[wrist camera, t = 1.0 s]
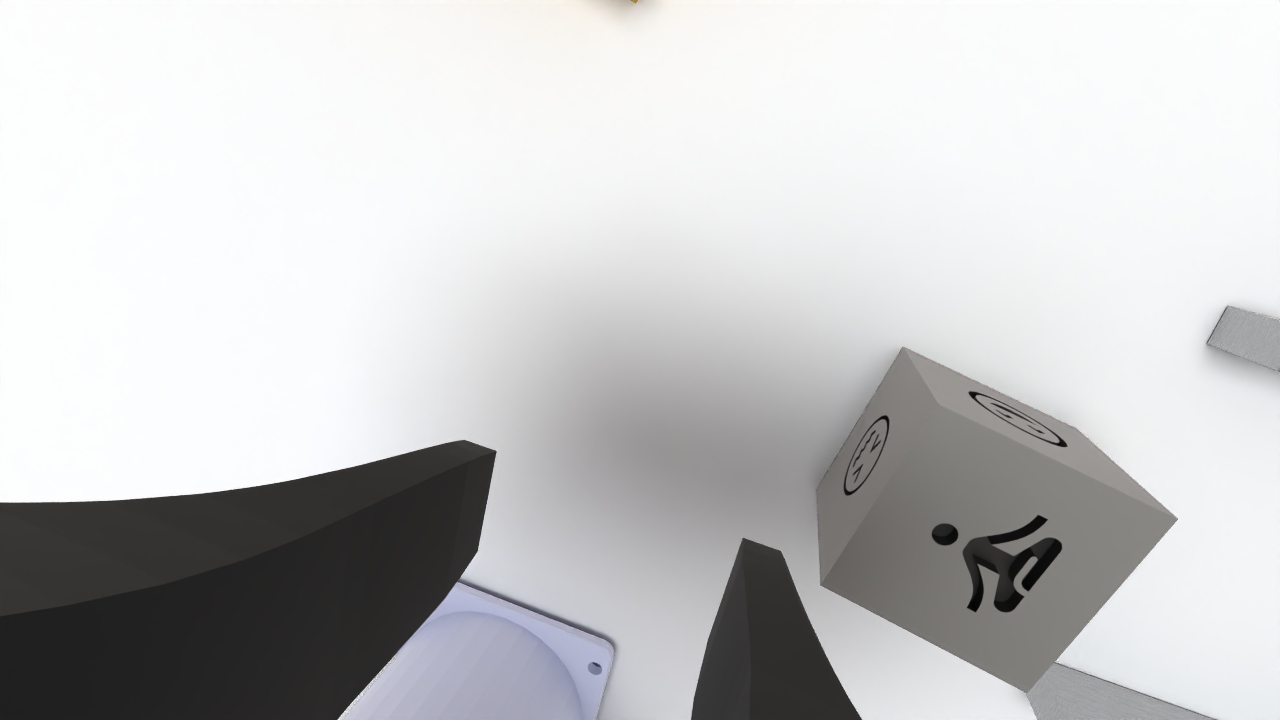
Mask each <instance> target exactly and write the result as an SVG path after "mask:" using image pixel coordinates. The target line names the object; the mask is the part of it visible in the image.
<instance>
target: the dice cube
mask: <svg viewBox="0 0 1280 720" xmlns="http://www.w3.org/2000/svg"><path fill="white" fill-rule="evenodd" d="M816 494H817V516H818V539H819V562H820V584H821V586H823V587H825V588H827V589H829V590H831V591H833V592H835V593H836V594H838V595H840V596H842V597H844V598H846V599H848V600H850V601H852V602H854V603H856V604H858V605H859V606H861V607H863V608H865V609H867V610H869V611H871V612H873V613H875V614H877V615H879V616H880V617H882V618H884V619H886V620H888V621H890V622H892V623H894V624H896V625H898V626H900V627H902V628H903V629H905V630H907V631H909V632H911V633H913V634H915V635H917V636H919V637H921V638H923V639H925V640H926V641H928V642H930V643H932V644H934V645H936V646H938V647H940V648H942V649H944V650H946V651H947V652H949V653H951V654H953V655H955V656H957V657H959V658H961V659H963V660H965V661H967V662H969V663H970V664H972V665H974V666H976V667H978V668H980V669H982V670H984V671H986V672H988V673H990V674H991V675H993V676H995V677H997V678H999V679H1001V680H1003V681H1005V682H1007V683H1009V684H1011V685H1013V686H1014V687H1016V688H1018V689H1020V690H1022V691H1024V692H1026V693H1028V692H1029V691H1030V690H1031V688H1032V687H1033V686H1034V685H1035V684H1036V683H1037V682H1038V680H1039V679H1040V678H1041V677H1042V676H1043V675H1044V673H1045V672H1046V671H1047V670H1048V669H1049V668H1050V667H1051V665H1052V664H1053V663H1054V662H1055V661H1056V660H1057V658H1058V657H1059V656H1060V655H1061V654H1062V653H1063V652H1064V650H1065V649H1066V648H1067V647H1068V646H1069V645H1070V643H1071V642H1072V641H1073V640H1074V639H1075V638H1076V636H1077V635H1078V634H1079V633H1080V632H1081V631H1082V630H1083V628H1084V627H1085V626H1086V625H1087V624H1088V623H1089V621H1090V620H1091V619H1092V618H1093V617H1094V616H1095V615H1096V613H1097V612H1098V611H1099V610H1100V609H1101V608H1102V606H1103V605H1104V604H1105V603H1106V602H1107V601H1108V600H1109V598H1110V597H1111V596H1112V595H1113V594H1114V593H1115V591H1116V590H1117V589H1118V588H1119V587H1120V586H1121V585H1122V583H1123V582H1124V581H1125V580H1126V579H1127V578H1128V576H1129V575H1130V574H1131V573H1132V572H1133V571H1134V570H1135V568H1136V567H1137V566H1138V565H1139V564H1140V563H1141V561H1142V560H1143V559H1144V558H1145V557H1146V556H1147V555H1148V553H1149V552H1150V551H1151V550H1152V549H1153V548H1154V546H1155V545H1156V544H1157V543H1158V542H1159V541H1160V539H1161V538H1162V537H1163V536H1164V535H1165V534H1166V533H1167V531H1168V530H1169V529H1170V528H1171V527H1172V526H1173V524H1174V523H1175V522H1176V521H1177V520H1178V518H1176V517H1175V516H1174V515H1173V514H1172V513H1171V512H1170V511H1169V510H1167V509H1166V508H1165V507H1164V506H1163V505H1162V504H1161V503H1160V502H1158V501H1157V500H1156V499H1155V498H1154V497H1153V496H1152V495H1151V494H1149V493H1148V492H1147V491H1146V490H1145V489H1144V488H1143V487H1142V486H1140V485H1139V484H1138V483H1137V482H1136V481H1135V480H1134V479H1133V478H1131V477H1130V476H1129V475H1128V474H1127V473H1126V472H1125V471H1124V470H1122V469H1121V468H1120V467H1119V466H1118V465H1117V464H1116V463H1115V462H1113V461H1112V460H1111V459H1110V458H1109V457H1108V456H1107V455H1106V454H1104V453H1103V452H1102V451H1101V450H1100V449H1099V448H1098V447H1097V446H1095V445H1094V444H1093V443H1092V442H1091V441H1090V440H1089V439H1088V438H1086V437H1085V436H1084V435H1083V434H1082V433H1081V432H1080V431H1079V430H1077V429H1076V428H1074V427H1072V426H1070V425H1068V424H1065V423H1063V422H1061V421H1059V420H1057V419H1055V418H1053V417H1051V416H1049V415H1046V414H1044V413H1042V412H1040V411H1038V410H1036V409H1034V408H1032V407H1029V406H1027V405H1025V404H1023V403H1021V402H1019V401H1017V400H1015V399H1013V398H1010V397H1008V396H1006V395H1004V394H1002V393H1000V392H998V391H996V390H993V389H991V388H989V387H987V386H985V385H983V384H981V383H979V382H977V381H974V380H972V379H970V378H968V377H966V376H964V375H962V374H960V373H957V372H955V371H953V370H951V369H949V368H947V367H945V366H943V365H941V364H938V363H936V362H934V361H932V360H930V359H928V358H926V357H924V356H921V355H919V354H917V353H915V352H913V351H911V350H909V349H907V348H905V347H902V349H901V351H900V352H899V354H898V356H897V357H896V359H895V361H894V362H893V364H892V366H891V367H890V369H889V371H888V372H887V374H886V376H885V377H884V379H883V380H882V382H881V384H880V385H879V387H878V389H877V390H876V392H875V394H874V395H873V397H872V399H871V400H870V402H869V404H868V405H867V407H866V408H865V410H864V412H863V413H862V415H861V417H860V418H859V420H858V422H857V423H856V425H855V427H854V428H853V430H852V432H851V433H850V435H849V436H848V438H847V440H846V441H845V443H844V445H843V446H842V448H841V450H840V451H839V453H838V455H837V456H836V458H835V460H834V461H833V463H832V464H831V466H830V468H829V469H828V471H827V473H826V474H825V476H824V478H823V479H822V481H821V483H820V484H819V486H818V488H817V489H816Z"/></svg>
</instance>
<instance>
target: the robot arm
mask: <svg viewBox="0 0 1280 720" xmlns="http://www.w3.org/2000/svg"><path fill="white" fill-rule="evenodd" d="M495 457H496V451H495V450H492V449H489V448H486V447H483V446H480V445H478V444H475V443H472V442H469V441H466V440H461V441H455V442H450V443H445V444H441V445H437V446H433V447H429V448H425V449H421V450H417V451H413V452H410V453H406V454H402V455H398V456H394V457H390V458H386V459H383V460H379V461H375V462H371V463H367V464H363V465H359V466H355V467H351V468H346V469H341V470H337V471H332V472H328V473H323V474H319V475H314V476H309V477H305V478H300V479H296V480H291V481H285V482H280V483H274V484H268V485H262V486H256V487H249V488H242V489H234V490H227V491H220V492H212V493H203V494H193V495H180V496H168V497H155V498H142V499H130V500H115V501H89V502H42V503H0V720H337V719H338V718H339V717H340V716H341V715H342V713H343V712H344V711H345V710H346V709H347V707H348V706H349V705H350V704H351V703H352V702H353V700H354V699H355V698H356V697H357V696H358V695H359V694H360V693H361V692H362V691H363V689H364V688H365V687H366V686H367V685H368V684H369V683H370V682H371V681H372V680H373V678H374V677H375V676H376V675H377V674H378V673H379V672H380V671H381V670H382V669H383V667H384V666H385V665H386V664H387V663H388V662H389V661H390V660H391V659H392V657H393V656H394V655H395V654H396V653H397V657H396V658H395V659H394V660H393V661H392V662H391V663H390V665H389V666H388V667H387V668H386V669H385V670H384V672H383V673H382V674H381V675H380V676H379V677H378V678H377V680H376V681H375V682H374V683H373V684H372V685H371V687H370V688H369V689H368V690H367V691H366V692H365V694H364V695H363V696H362V697H361V698H360V699H359V700H358V702H357V703H356V704H355V705H354V706H353V707H352V709H351V710H350V711H349V712H348V713H347V714H346V715H345V717H344V718H343V719H342V720H596V717H597V714H598V710H599V707H600V703H601V700H602V696H603V693H604V690H605V686H606V683H607V679H608V676H609V672H610V669H611V665H612V662H613V658H614V649H613V646H612V645H611V644H610V643H609V642H607V641H606V640H604V639H601V638H599V637H596V636H594V635H591V634H589V633H586V632H584V631H581V630H578V629H576V628H573V627H571V626H568V625H566V624H563V623H561V622H558V621H556V620H553V619H550V618H548V617H545V616H543V615H540V614H538V613H535V612H533V611H530V610H528V609H525V608H522V607H520V606H517V605H515V604H512V603H510V602H507V601H505V600H502V599H499V598H497V597H494V596H492V595H489V594H487V593H484V592H482V591H479V590H477V589H474V588H471V587H469V586H466V585H464V584H461V583H459V582H457V581H458V580H459V578H460V577H461V575H462V574H463V572H464V571H465V569H466V568H467V566H468V565H469V563H470V562H471V560H472V559H473V557H474V556H475V554H476V553H477V551H478V546H479V541H480V536H481V530H482V525H483V520H484V515H485V509H486V504H487V499H488V494H489V488H490V483H491V478H492V472H493V467H494V462H495ZM592 662H596V663H598V664H599V665H600V666H601V667H597V666H595V665H594V664H593V663H592ZM691 720H862V719H861V717H860V716H859V714H858V712H857V711H856V709H855V708H854V706H853V704H852V703H851V701H850V699H849V697H848V696H847V694H846V692H845V690H844V688H843V687H842V685H841V683H840V681H839V679H838V678H837V676H836V674H835V672H834V670H833V668H832V666H831V664H830V662H829V660H828V658H827V656H826V654H825V652H824V650H823V648H822V646H821V644H820V642H819V640H818V638H817V635H816V633H815V631H814V629H813V627H812V625H811V623H810V621H809V618H808V616H807V614H806V611H805V609H804V607H803V604H802V602H801V600H800V597H799V595H798V592H797V590H796V587H795V585H794V582H793V580H792V577H791V575H790V572H789V569H788V567H787V564H786V561H785V559H784V557H783V555H782V553H781V551H779V550H776V549H773V548H770V547H768V546H765V545H762V544H759V543H756V542H753V541H750V540H748V539H745V538H743V539H742V542H741V545H740V548H739V551H738V554H737V557H736V560H735V563H734V566H733V569H732V571H731V574H730V577H729V580H728V583H727V586H726V589H725V592H724V595H723V598H722V601H721V603H720V606H719V609H718V612H717V615H716V618H715V621H714V624H713V627H712V630H711V633H710V636H709V638H708V642H707V646H706V650H705V654H704V659H703V663H702V667H701V671H700V675H699V679H698V683H697V688H696V692H695V696H694V702H693V710H692V717H691Z"/></svg>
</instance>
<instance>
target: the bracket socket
mask: <svg viewBox="0 0 1280 720" xmlns="http://www.w3.org/2000/svg"><path fill="white" fill-rule="evenodd" d="M1207 344H1209V345H1211V346H1214V347H1216V348H1219V349H1222V350H1224V351H1227V352H1229V353H1232V354H1234V355H1237V356H1240V357H1242V358H1245V359H1247V360H1250V361H1253V362H1255V363H1258V364H1260V365H1263V366H1265V367H1268V368H1271V369H1273V370H1276V371H1279V372H1280V319H1277V318H1273V317H1269V316H1266V315H1262V314H1258V313H1254V312H1250V311H1246V310H1242V309H1238V308H1235V307H1231V306H1228V307H1227V309H1226V310H1225V312H1224V314H1223V316H1222V318H1221V319H1220V321H1219V323H1218V325H1217V327H1216V328H1215V330H1214V332H1213V334H1212V336H1211V338H1210V339H1209V341H1208V343H1207ZM1025 693H1026V692H1025ZM1026 695H1027V697H1028V699H1029V702H1030V704H1031V706H1032V708H1033V711H1034V713H1035V715H1036V717H1037V720H1214V719H1211V718H1208V717H1206V716H1203V715H1200V714H1197V713H1194V712H1191V711H1189V710H1186V709H1183V708H1180V707H1177V706H1175V705H1172V704H1169V703H1166V702H1163V701H1161V700H1158V699H1155V698H1152V697H1149V696H1146V695H1144V694H1141V693H1138V692H1135V691H1132V690H1130V689H1127V688H1124V687H1121V686H1118V685H1115V684H1113V683H1110V682H1107V681H1104V680H1101V679H1099V678H1096V677H1093V676H1090V675H1087V674H1085V673H1082V672H1079V671H1076V670H1073V669H1070V668H1068V667H1065V666H1062V665H1059V664H1056V663H1053V664H1052V665H1051V667H1050V668H1049V669H1048V670H1047V671H1046V672H1045V673H1044V675H1043V676H1042V677H1041V678H1040V679H1039V680H1038V682H1037V683H1036V684H1035V685H1034V686H1033V687H1032V688H1031V690H1030V691H1029V692H1028V693H1026Z"/></svg>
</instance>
